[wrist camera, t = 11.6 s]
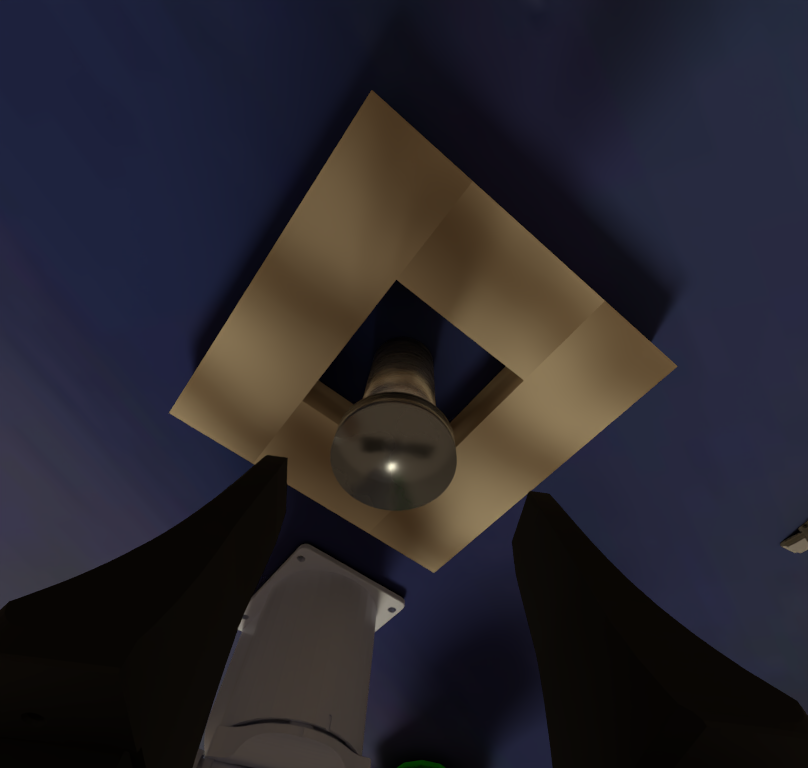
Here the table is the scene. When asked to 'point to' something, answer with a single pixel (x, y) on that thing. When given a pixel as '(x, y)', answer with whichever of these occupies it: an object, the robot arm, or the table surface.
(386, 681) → the table surface
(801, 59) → the table surface
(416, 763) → the plastic bottle
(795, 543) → the caliper
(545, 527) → the robot arm
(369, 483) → the steel pin
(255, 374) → the square wooden frame
